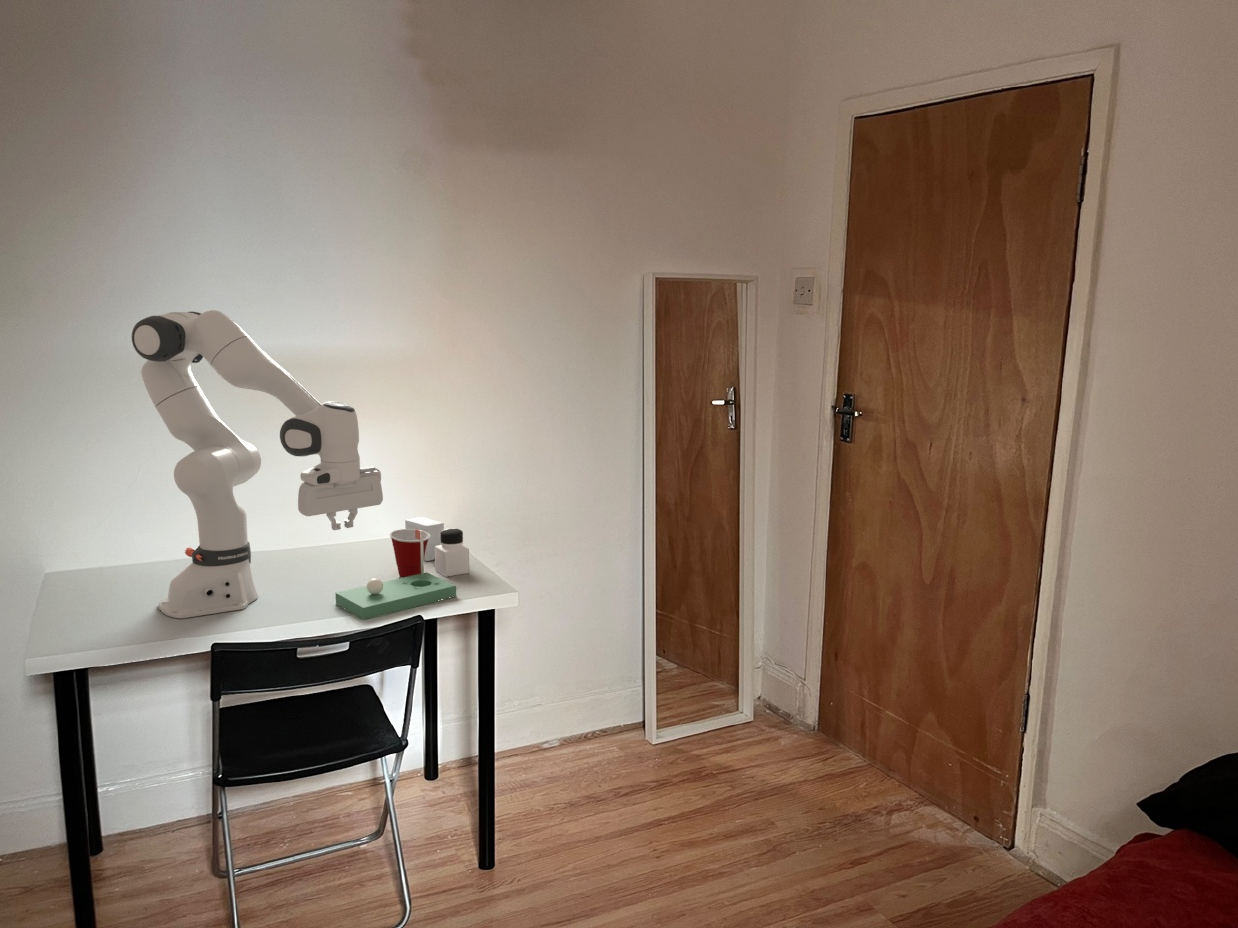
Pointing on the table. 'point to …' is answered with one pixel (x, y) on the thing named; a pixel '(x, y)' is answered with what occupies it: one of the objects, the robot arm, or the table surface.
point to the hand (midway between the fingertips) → (342, 528)
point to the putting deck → (397, 593)
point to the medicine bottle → (451, 553)
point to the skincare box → (429, 527)
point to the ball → (374, 586)
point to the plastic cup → (408, 551)
